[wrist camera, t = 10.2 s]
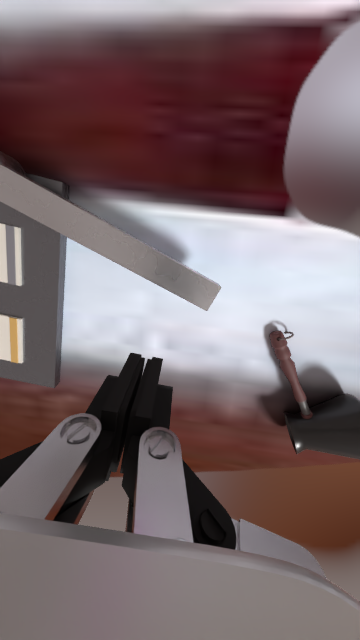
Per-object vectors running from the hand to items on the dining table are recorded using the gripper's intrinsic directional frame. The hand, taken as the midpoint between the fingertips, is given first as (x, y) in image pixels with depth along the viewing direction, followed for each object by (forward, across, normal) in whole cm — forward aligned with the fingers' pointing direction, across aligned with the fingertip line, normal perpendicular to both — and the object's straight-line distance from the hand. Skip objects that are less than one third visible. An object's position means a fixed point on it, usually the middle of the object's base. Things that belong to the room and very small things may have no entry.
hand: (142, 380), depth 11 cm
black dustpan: (+15, -20, +7) cm, 26 cm away
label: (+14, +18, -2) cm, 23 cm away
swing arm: (+13, +7, -6) cm, 16 cm away
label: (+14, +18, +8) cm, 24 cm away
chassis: (+15, +18, +2) cm, 23 cm away
